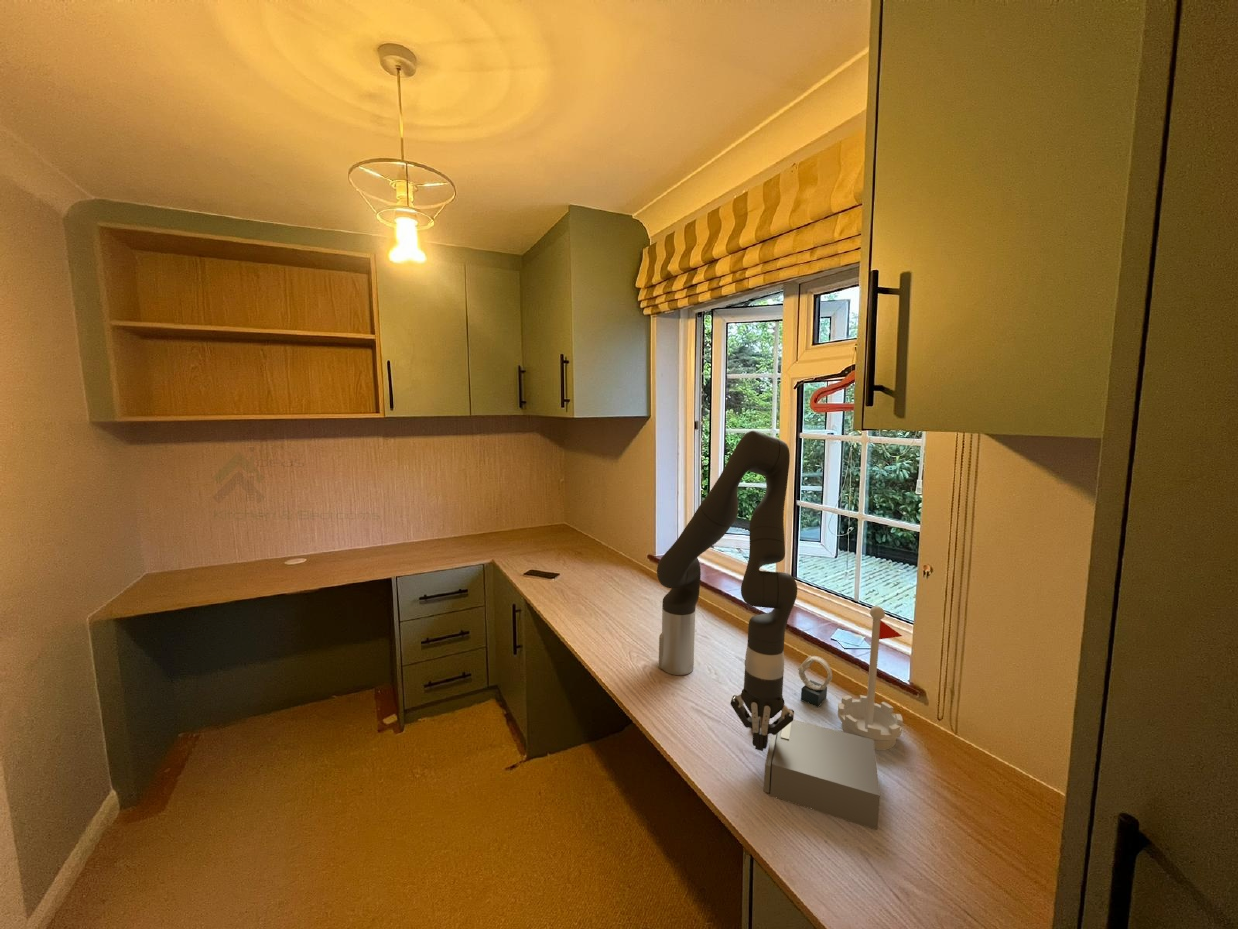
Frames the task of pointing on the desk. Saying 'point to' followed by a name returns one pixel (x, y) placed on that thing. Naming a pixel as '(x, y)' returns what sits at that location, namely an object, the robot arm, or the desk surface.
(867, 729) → the flag stand
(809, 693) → the watch
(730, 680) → the desk surface
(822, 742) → the housing
